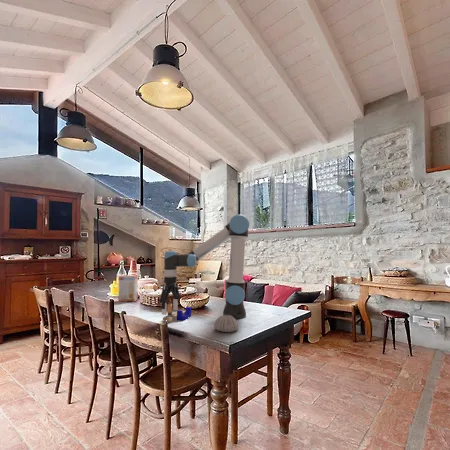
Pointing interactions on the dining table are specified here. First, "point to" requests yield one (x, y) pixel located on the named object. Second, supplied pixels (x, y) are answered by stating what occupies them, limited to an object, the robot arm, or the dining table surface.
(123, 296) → the cracker box
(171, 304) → the awl
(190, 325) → the dining table surface
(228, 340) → the dining table surface
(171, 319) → the joist batten
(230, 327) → the sea urchin shell
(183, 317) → the cable clip
